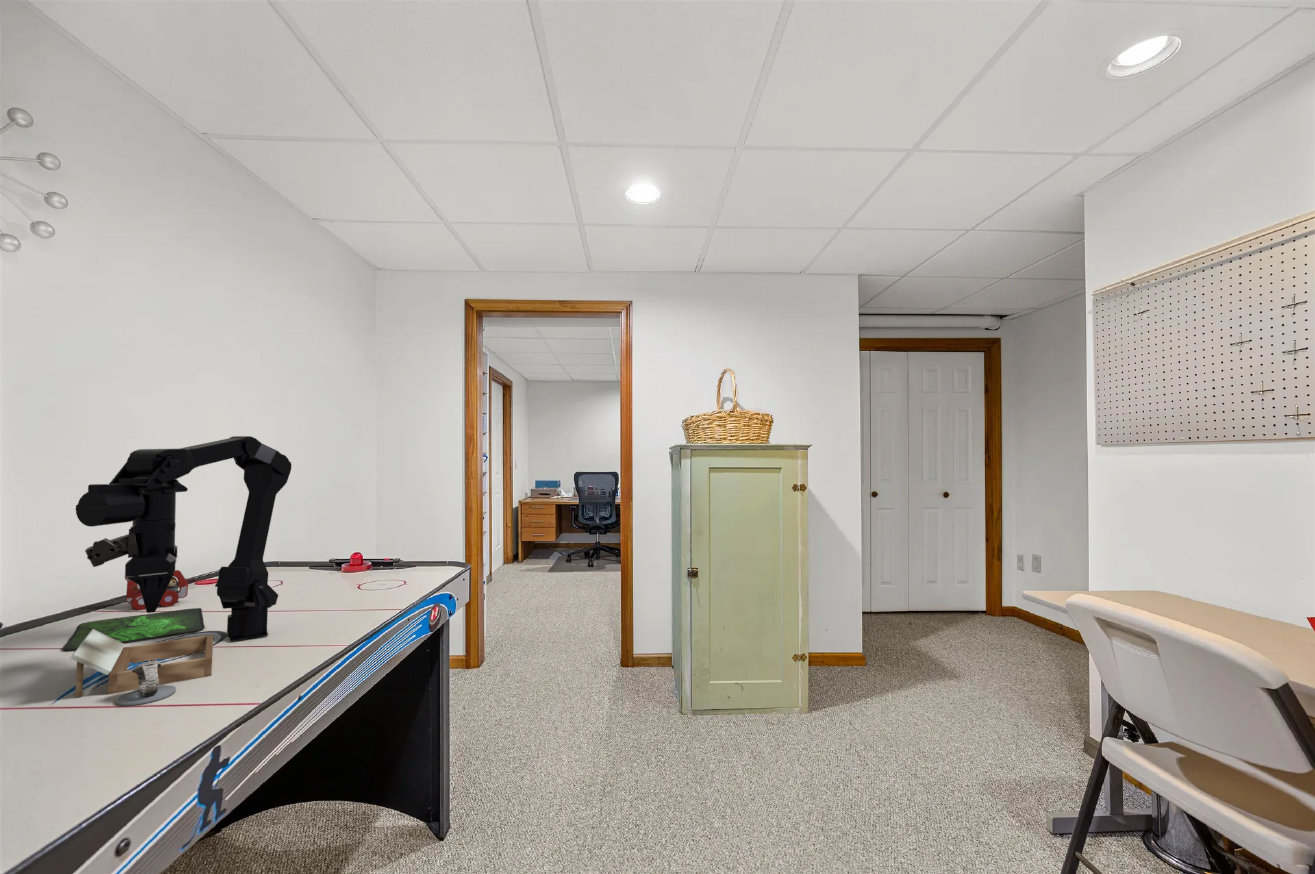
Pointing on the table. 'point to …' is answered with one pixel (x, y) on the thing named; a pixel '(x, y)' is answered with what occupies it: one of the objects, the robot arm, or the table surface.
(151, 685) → the wristwatch
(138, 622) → the mouse mat
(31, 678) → the table surface
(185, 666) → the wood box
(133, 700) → the felt pad
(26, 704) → the table surface
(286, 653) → the table surface
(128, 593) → the toy fire truck
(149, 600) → the robot arm
